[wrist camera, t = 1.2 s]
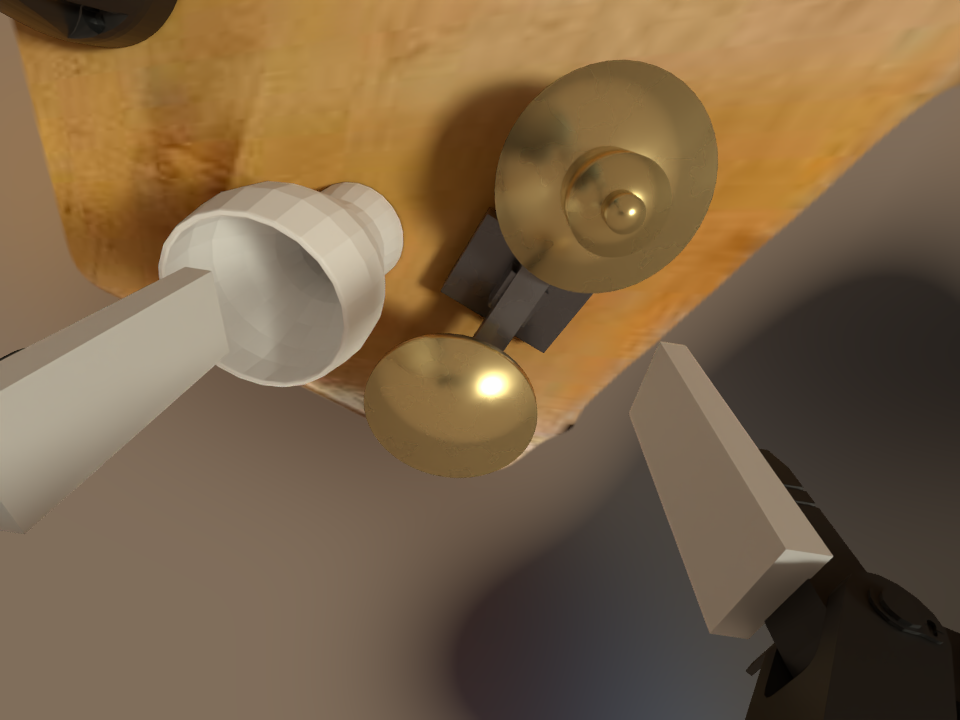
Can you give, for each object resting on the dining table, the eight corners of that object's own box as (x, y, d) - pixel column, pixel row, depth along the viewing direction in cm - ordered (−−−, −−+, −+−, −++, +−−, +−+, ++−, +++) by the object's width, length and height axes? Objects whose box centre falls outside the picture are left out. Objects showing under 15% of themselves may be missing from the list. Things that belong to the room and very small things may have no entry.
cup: (293, 280, 36) (168, 374, 23) (288, 146, 31) (120, 170, 18) (413, 307, 36) (355, 413, 23) (429, 178, 31) (365, 225, 18)
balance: (372, 371, 40) (319, 464, 30) (572, 21, 26) (610, -43, 15) (485, 431, 43) (474, 536, 32) (725, 146, 28) (849, 166, 18)
